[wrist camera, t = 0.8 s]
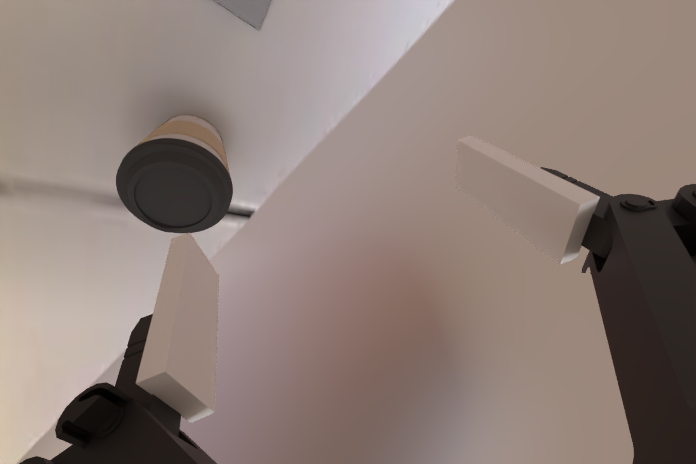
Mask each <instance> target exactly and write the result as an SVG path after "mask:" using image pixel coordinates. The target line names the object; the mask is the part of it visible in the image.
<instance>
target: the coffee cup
mask: <svg viewBox="0 0 696 464" xmlns="http://www.w3.org/2000/svg"><path fill="white" fill-rule="evenodd" d="M116 186H117V191H118V194H119V196H120V198H121V200H122V202H123V203H124V205H125V206H126V207H127V209H128V210H129V211H130V212H131V213H132V214H133V215H134V216H136V217H137V218H138V219H140V220H141V221H143V222H144V223H146V224H148V225H150V226H151V227H153V228H156V229H158V230H161V231H164V232H173V233H193V232H199V231H202V230H205V229H208V228H210V227H212V226H214V225H215V224H217V223H218V222H219V221H220V220H221V219H222V218H223V217H224V216H225V214H226V213H227V211H228V209H229V206H230V203H231V199H232V194H233V187H232V181H231V178H230V174H229V169H228V164H227V159H226V154H225V150H224V148H223V144H222V140H221V137H220V135H219V133H218V132H217V130H216V129H215V128H214V127H213V126H212V125H211V124H209V123H208V122H207V121H205V120H203V119H201V118H199V117H195V116H191V115H181V116H176V117H174V118H172V119H170V120H168V121H167V122H166V123H164V124H162V125H161V126H159V127H158V128H157V129H155V130H154V131H153V132H152V133H151V134H150V135H149V136H147V137H146V138H145V139H144V140H143V141H142V142H140V143H139V144H138V145H137V146H136V147H134V148H133V149H132V150H131V151H130V152H129V153H128V154H127V155H126V156H125V157H124V159H123V160H122V162H121V165H120V167H119V169H118V172H117V176H116Z"/></svg>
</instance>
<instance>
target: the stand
mask: <svg viewBox="0 0 696 464" xmlns="http://www.w3.org/2000/svg"><path fill="white" fill-rule="evenodd" d="M214 1H216V2H217V3H219V4H220V5H222V6H223V7H225V8H226V9H228V10H229V11H231V12H232V13H234V14H235V15H237V16H238V17H240V18H241V19H243V20H244V21H246V22H247V23H249V24H250V25H252V26H253V27H255V28H256V29H258V30H259V29H260V26H261V24H262V21H263V19H264V16H265V14H266V11H267V9H268V6H269V4H270V1H271V0H214Z"/></svg>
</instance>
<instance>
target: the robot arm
mask: <svg viewBox="0 0 696 464" xmlns="http://www.w3.org/2000/svg"><path fill="white" fill-rule="evenodd" d="M456 188H457V189H458V190H459V191H461V192H462V193H463V194H465V195H466V196H467V197H469V198H470V199H472V200H473V201H474V202H476V203H477V204H478V205H480V206H481V207H482V208H484V209H485V210H487V211H488V212H489V213H490V214H492V215H493V216H495V217H496V218H497V219H499V220H500V221H502V222H503V223H504V224H505V225H507V226H508V227H509V228H511V229H512V230H514V231H515V232H516V233H518V234H519V235H520V236H522V237H523V238H524V239H526V240H527V241H528V242H530V243H531V244H532V245H534V246H535V247H536V248H538V249H539V250H540V251H542V252H543V253H545V254H546V255H547V256H549V257H550V258H551V259H553V260H554V261H555V262H557V263H558V264H559V265H560V264H563V263H566V262H568V261H570V260H572V259H575V258H577V256H578V253H579V251H580V248H581V246H584V247H585V248H587V249H588V250H590V251H589V253H588V255H587V258H586V260H585V263H584V265H583V268H582V273H586V270H587V268H588V267H590V271H591V275H592V279H593V283H594V287H595V291H596V295H597V299H598V303H599V307H600V311H601V315H602V319H603V324H604V328H605V332H606V336H607V340H608V344H609V348H610V352H611V356H612V360H613V364H614V368H615V373H616V376H617V381H618V385H619V389H620V393H621V397H622V401H623V405H624V409H625V413H626V418H627V421H628V425H629V430H630V434H631V438H632V442H633V447H634V459H633V464H696V184H691V185H685V186H683V187H682V188H680V190H679V191H678V193H677V195H676V197H675V198H674V199H671V200H663V201H655V200H653V199H651V198H648V197H645V196H641V195H634V194H621V195H617V196H614V197H613V196H610V195H608V194H606V193H604V192H602V191H599V190H597V189H595V188H593V187H591V186H589V185H587V184H584V183H582V182H580V181H579V182H578V181H577V180H576V179H574V178H571V177H568V176H567V175H565V174H563V173H561V172H558V171H556V170H552V169H548V168H543V167H541V168H539V167H537V166H534V165H532V164H530V163H528V162H526V161H524V160H522V159H520V158H518V157H516V156H513V155H511V154H509V153H507V152H505V151H503V150H501V149H499V148H497V147H495V146H493V145H490V144H488V143H486V142H484V141H482V140H480V139H478V138H476V137H474V136H472V135H470V136H467V137H464V138H461V139H458V140H457V163H456ZM218 291H219V275H218V273H217V272H216V270H215V269H214V267H213V266H212V265H211V263H210V262H209V260H208V259H207V257H206V256H205V254H204V253H203V251H202V250H201V248H200V247H199V245H198V244H197V243H196V241H195V240H194V238H193V237H192V235H191V234H190V233H187V234H184V235H181V236H178V237H175V238H173V239H172V240H171V244H170V248H169V252H168V256H167V260H166V264H165V268H164V272H163V276H162V280H161V284H160V288H159V292H158V296H157V300H156V304H155V308H154V312H153V314H151V315H149V316H146V317H143V318H141V319H140V320H139V322H138V323H137V325H136V326H135V328H134V329H133V331H132V332H131V335H130V339H129V342H128V345H127V346H128V348H127V349H126V352H125V355H124V358H125V359H124V360H123V362H122V365H121V368H120V371H119V375H118V378H117V381H116V385H115V387H114V386H113V385H111V384H109V383H99V384H96V385H94V386H92V387H90V388H87V389H86V390H85V391H83V392H82V393H81V394H79V395H78V396H77V397H75V399H74V400H73V401H72V402H71V403H70V404H69V405H68V406H67V407H66V408H65V410H64V411H63V413H62V415H61V416H60V418H59V420H58V423H57V426H56V429H55V431H56V437H57V438H59V439H61V440H64V441H66V442H68V443H70V444H73V445H72V446H70V447H69V448H67V449H66V450H65V451H63V452H62V453H60V454H59V455H57V456H56V457H54V458H53V459H52V460H47V459H44V458H41V457H37V456H36V457H32V458H29V459H26V460H24V461H23V462H21V463H20V464H217V463H216V462H215V461H214V460H212V459H211V458H210V457H209V456H208V455H207V454H206V453H205V452H204V451H203V450H202V449H201V448H200V447H198V445H197V444H196V443H195V442H194V441H192V440H191V439H190V438H189V437H188V436H187V435H186V434H185V433H184V432H182V431H181V430H180V429H179V428H180V419H181V416H182V417H183V418H185V419H186V420H188V421H189V422H194V421H196V420H198V419H201V418H203V417H205V416H208V415H210V414H212V413H214V412H215V383H216V354H217V352H216V351H217V322H218Z"/></svg>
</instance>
